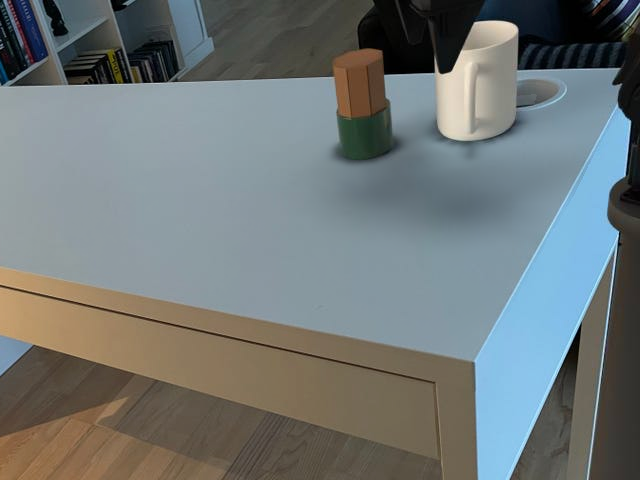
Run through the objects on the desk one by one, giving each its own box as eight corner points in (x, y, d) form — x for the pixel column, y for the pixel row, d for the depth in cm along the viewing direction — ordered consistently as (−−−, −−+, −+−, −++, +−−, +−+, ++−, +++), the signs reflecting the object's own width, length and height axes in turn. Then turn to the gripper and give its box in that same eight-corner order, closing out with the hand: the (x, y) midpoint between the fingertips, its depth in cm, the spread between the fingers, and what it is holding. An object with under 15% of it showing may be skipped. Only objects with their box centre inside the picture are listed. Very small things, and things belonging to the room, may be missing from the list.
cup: (517, 105, 89) (520, 15, 82) (512, 155, 81) (514, 59, 74) (441, 112, 92) (438, 26, 86) (429, 160, 84) (425, 69, 78)
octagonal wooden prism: (396, 101, 86) (392, 52, 83) (361, 121, 85) (356, 71, 81) (362, 94, 90) (358, 46, 86) (329, 112, 88) (323, 64, 85)
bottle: (404, 142, 89) (400, 72, 84) (366, 164, 87) (359, 94, 82) (367, 131, 93) (361, 65, 88) (330, 152, 92) (321, 86, 87)
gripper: (304, -115, 72) (324, 51, 81) (351, -83, 57) (369, 115, 67) (424, -152, 70) (430, 22, 80) (504, -129, 56) (500, 81, 65)
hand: (429, 57), depth 73 cm, fingers open, 9 cm apart
